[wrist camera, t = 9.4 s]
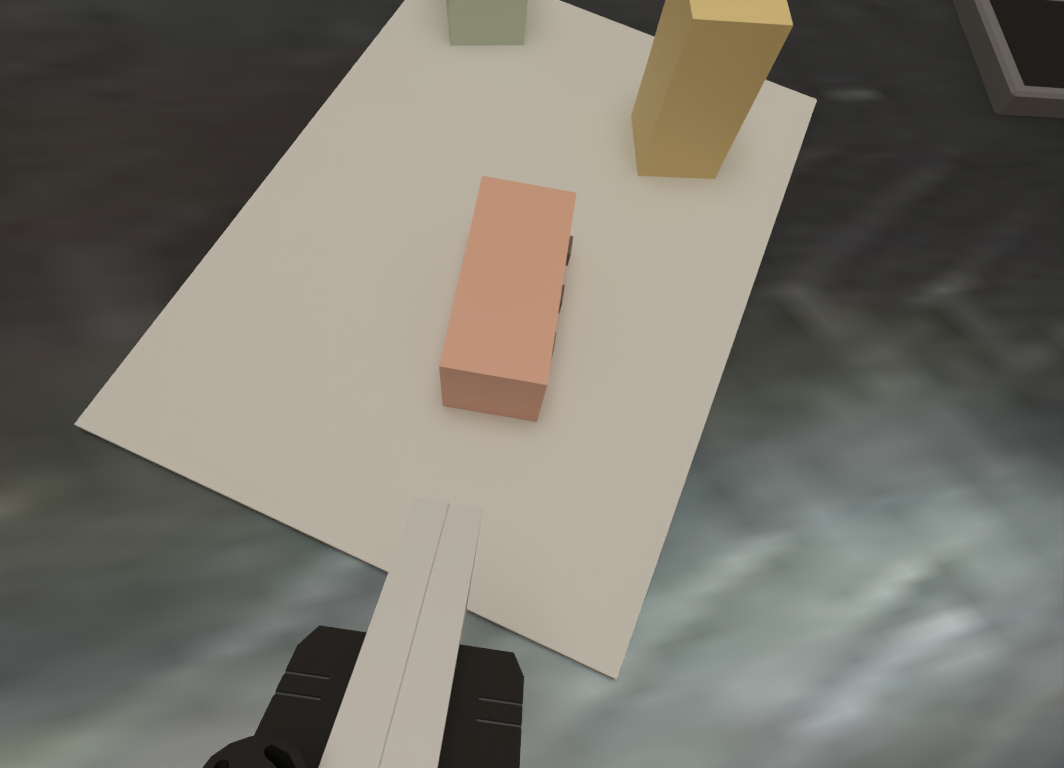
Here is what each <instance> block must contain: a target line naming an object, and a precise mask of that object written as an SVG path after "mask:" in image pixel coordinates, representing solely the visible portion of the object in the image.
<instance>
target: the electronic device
mask: <svg viewBox="0 0 1064 768" xmlns="http://www.w3.org/2000/svg"><path fill="white" fill-rule="evenodd" d="M952 1H953V4H954V6H955V9H956V11H957V14H958V17H959V19H960V22H961V25H962V27H963V30H964V33H965V35H966V38H967V41H968V43H969V46H970V49H971V51H972V54H973V57H974V59H975V62H976V65H977V67H978V70H979V73H980V75H981V78H982V81H983V83H984V86H985V89H986V91H987V94H988V97H989V99H990V102H991V105H992V107H993V110H994V112H996V113H997V114H1002V115H1018V116H1034V117H1051V118H1064V0H952Z"/></svg>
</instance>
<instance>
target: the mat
mask: <svg viewBox="0 0 1064 768" xmlns="http://www.w3.org/2000/svg"><path fill="white" fill-rule="evenodd" d="M654 38H655V37H653V36H651V35H648V34H645V33H643V32H640V31H638V30H635V29H632V28H630V27H627V26H625V25H622V24H619V23H617V22H614V21H612V20H609V19H606V18H604V17H601V16H599V15H596V14H594V13H591V12H588V11H586V10H583V9H581V8H578V7H575V6H573V5H570V4H568V3H565V2H562V1H560V0H528V3H527V13H526V24H525V35H524V45H478V46H450V38H449V27H448V16H447V5H446V0H405V1H404V2H403V3H402V5H401V6H400V7H399V8H398V10H397V11H396V12H395V14H394V15H393V16H392V17H391V19H390V20H389V21H388V23H387V24H386V25H385V26H384V28H383V29H382V30H381V32H380V33H379V34H378V35H377V37H376V38H375V39H374V41H373V42H372V43H371V44H370V46H369V47H368V48H367V49H366V51H365V52H364V53H363V55H362V56H361V57H360V58H359V60H358V61H357V62H356V64H355V65H354V66H353V67H352V69H351V70H350V71H349V73H348V74H347V75H346V76H345V78H344V79H343V80H342V82H341V83H340V84H339V85H338V87H337V88H336V89H335V91H334V92H333V93H332V94H331V96H330V97H329V98H328V99H327V101H326V102H325V103H324V105H323V106H322V107H321V108H320V110H319V111H318V112H317V114H316V115H315V116H314V117H313V119H312V120H311V121H310V123H309V124H308V125H307V126H306V128H305V129H304V130H303V132H302V133H301V134H300V135H299V137H298V138H297V139H296V141H295V142H294V143H293V144H292V146H291V147H290V148H289V149H288V151H287V152H286V153H285V155H284V156H283V157H282V158H281V160H280V161H279V162H278V164H277V165H276V166H275V167H274V169H273V170H272V171H271V173H270V174H269V175H268V176H267V178H266V179H265V180H264V182H263V183H262V184H261V185H260V187H259V188H258V189H257V191H256V192H255V193H254V194H253V196H252V197H251V198H250V199H249V201H248V202H247V203H246V205H245V206H244V207H243V208H242V210H241V211H240V212H239V214H238V215H237V216H236V217H235V219H234V220H233V221H232V223H231V224H230V225H229V226H228V228H227V229H226V230H225V232H224V233H223V234H222V235H221V237H220V238H219V239H218V241H217V242H216V243H215V244H214V246H213V247H212V248H211V249H210V251H209V252H208V253H207V255H206V256H205V257H204V258H203V260H202V261H201V262H200V264H199V265H198V266H197V267H196V269H195V270H194V271H193V273H192V274H191V275H190V276H189V278H188V279H187V280H186V282H185V283H184V284H183V285H182V287H181V288H180V289H179V291H178V292H177V293H176V294H175V296H174V297H173V298H172V299H171V301H170V302H169V303H168V305H167V306H166V307H165V308H164V310H163V311H162V312H161V314H160V315H159V316H158V317H157V319H156V320H155V321H154V323H153V324H152V325H151V326H150V328H149V329H148V330H147V332H146V333H145V334H144V335H143V337H142V338H141V339H140V341H139V342H138V343H137V344H136V346H135V347H134V348H133V349H132V351H131V352H130V353H129V355H128V356H127V357H126V358H125V360H124V361H123V362H122V364H121V365H120V366H119V367H118V369H117V370H116V371H115V373H114V374H113V375H112V376H111V378H110V379H109V380H108V382H107V383H106V384H105V385H104V387H103V388H102V389H101V391H100V392H99V393H98V394H97V396H96V397H95V398H94V399H93V401H92V402H91V403H90V405H89V406H88V407H87V408H86V410H85V411H84V412H83V414H82V415H81V416H80V417H79V419H78V420H77V421H76V423H75V425H76V426H78V427H79V428H81V429H83V430H85V431H87V432H89V433H92V434H94V435H96V436H98V437H100V438H102V439H104V440H106V441H109V442H111V443H113V444H115V445H117V446H119V447H121V448H123V449H126V450H128V451H130V452H132V453H134V454H136V455H138V456H140V457H143V458H145V459H147V460H149V461H151V462H153V463H155V464H157V465H160V466H162V467H164V468H166V469H168V470H170V471H172V472H174V473H177V474H179V475H181V476H183V477H185V478H187V479H189V480H192V481H194V482H196V483H198V484H200V485H202V486H204V487H206V488H209V489H211V490H213V491H215V492H217V493H219V494H221V495H223V496H226V497H228V498H230V499H232V500H234V501H236V502H238V503H240V504H243V505H245V506H247V507H249V508H251V509H253V510H255V511H257V512H260V513H262V514H264V515H266V516H268V517H270V518H272V519H274V520H277V521H279V522H281V523H283V524H285V525H287V526H289V527H291V528H294V529H296V530H298V531H300V532H302V533H304V534H306V535H308V536H311V537H313V538H315V539H317V540H319V541H321V542H323V543H325V544H328V545H330V546H332V547H334V548H336V549H338V550H340V551H342V552H345V553H347V554H349V555H351V556H353V557H355V558H357V559H359V560H362V561H364V562H366V563H368V564H370V565H372V566H374V567H376V568H379V569H381V570H383V571H385V572H387V573H388V572H389V570H390V567H391V564H392V561H393V558H394V556H395V553H396V550H397V547H398V545H399V542H400V539H401V536H402V533H403V531H404V528H405V525H406V522H407V519H408V517H409V514H410V511H411V508H412V506H413V503H414V500H415V498H420V499H427V500H433V501H439V502H446V503H452V504H459V505H465V506H471V507H478V508H483V511H482V517H481V524H480V530H479V536H478V542H477V548H476V555H475V561H474V567H473V573H472V579H471V586H470V592H469V598H468V604H467V610H468V611H470V612H472V613H474V614H476V615H479V616H481V617H483V618H485V619H487V620H489V621H491V622H493V623H496V624H498V625H500V626H502V627H504V628H506V629H508V630H510V631H513V632H515V633H517V634H519V635H521V636H523V637H525V638H527V639H530V640H532V641H534V642H536V643H538V644H540V645H542V646H544V647H547V648H549V649H551V650H553V651H555V652H557V653H559V654H561V655H564V656H566V657H568V658H570V659H572V660H574V661H576V662H578V663H581V664H583V665H585V666H587V667H589V668H591V669H593V670H595V671H598V672H600V673H602V674H604V675H606V676H608V677H610V678H612V679H617V677H618V674H619V671H620V668H621V665H622V662H623V660H624V657H625V654H626V651H627V648H628V645H629V642H630V639H631V636H632V634H633V631H634V628H635V625H636V622H637V619H638V616H639V613H640V610H641V607H642V605H643V602H644V599H645V596H646V593H647V590H648V587H649V584H650V581H651V579H652V576H653V573H654V570H655V567H656V564H657V561H658V558H659V555H660V552H661V550H662V547H663V544H664V541H665V538H666V535H667V532H668V529H669V526H670V524H671V521H672V518H673V515H674V512H675V509H676V506H677V503H678V500H679V497H680V495H681V492H682V489H683V486H684V483H685V480H686V477H687V474H688V471H689V469H690V466H691V463H692V460H693V457H694V454H695V451H696V448H697V445H698V442H699V440H700V437H701V434H702V431H703V428H704V425H705V422H706V419H707V416H708V414H709V411H710V408H711V405H712V402H713V399H714V396H715V393H716V390H717V387H718V385H719V382H720V379H721V376H722V373H723V370H724V367H725V364H726V361H727V359H728V356H729V353H730V350H731V347H732V344H733V341H734V338H735V335H736V332H737V330H738V327H739V324H740V321H741V318H742V315H743V312H744V309H745V306H746V304H747V301H748V298H749V295H750V292H751V289H752V286H753V283H754V280H755V277H756V275H757V272H758V269H759V266H760V263H761V260H762V257H763V254H764V251H765V249H766V246H767V243H768V240H769V237H770V234H771V231H772V228H773V225H774V222H775V220H776V217H777V214H778V211H779V208H780V205H781V202H782V199H783V196H784V194H785V191H786V188H787V185H788V182H789V179H790V176H791V173H792V170H793V167H794V165H795V162H796V159H797V156H798V153H799V150H800V147H801V144H802V141H803V139H804V136H805V133H806V130H807V127H808V124H809V121H810V118H811V115H812V112H813V110H814V107H815V104H816V101H817V100H816V99H814V98H811V97H809V96H806V95H803V94H801V93H798V92H796V91H793V90H791V89H788V88H785V87H783V86H780V85H778V84H775V83H772V82H770V81H767V80H765V81H764V83H763V85H762V87H761V89H760V91H759V93H758V95H757V97H756V99H755V101H754V103H753V105H752V107H751V109H750V111H749V113H748V115H747V117H746V118H745V120H744V122H743V124H742V126H741V128H740V130H739V132H738V134H737V136H736V138H735V140H734V142H733V144H732V146H731V148H730V150H729V152H728V154H727V156H726V158H725V160H724V162H723V164H722V166H721V168H720V169H719V171H718V173H717V175H716V177H715V179H702V178H678V177H654V176H638V172H637V163H636V154H635V145H634V136H633V127H632V118H631V114H632V111H633V108H634V104H635V101H636V98H637V94H638V91H639V88H640V84H641V81H642V78H643V74H644V71H645V68H646V64H647V61H648V58H649V54H650V51H651V48H652V44H653V41H654ZM482 176H487V177H492V178H498V179H504V180H509V181H515V182H520V183H526V184H531V185H537V186H542V187H548V188H553V189H559V190H564V191H570V192H576V199H575V206H574V212H573V219H572V226H571V232H570V236H573V243H572V249H571V255H570V259H569V263H568V266H565V272H564V278H563V285H565V287H564V294H563V300H562V305H561V309H560V313H558V318H557V325H556V331H555V333H556V338H555V345H554V351H553V355H552V359H551V364H550V371H549V378H548V384H547V388H546V392H545V395H544V398H543V402H542V405H541V409H540V412H539V416H538V419H537V422H534V421H528V420H523V419H517V418H511V417H505V416H499V415H493V414H488V413H482V412H476V411H470V410H464V409H458V408H453V407H447V406H443V404H442V393H441V382H440V371H439V365H440V360H441V356H442V351H443V347H444V342H445V338H446V334H447V329H448V325H449V320H450V316H451V311H452V307H453V303H454V298H455V294H456V289H457V285H458V280H459V276H460V272H461V267H462V263H463V258H464V254H465V249H466V245H467V241H468V236H469V232H470V227H471V223H472V218H473V214H474V210H475V205H476V201H477V196H478V192H479V187H480V183H481V179H482Z"/></svg>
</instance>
